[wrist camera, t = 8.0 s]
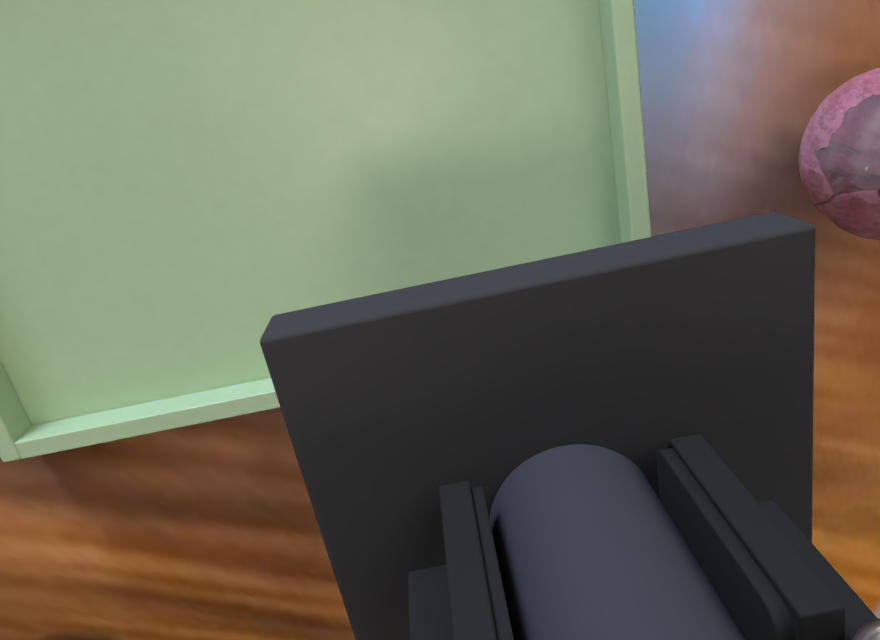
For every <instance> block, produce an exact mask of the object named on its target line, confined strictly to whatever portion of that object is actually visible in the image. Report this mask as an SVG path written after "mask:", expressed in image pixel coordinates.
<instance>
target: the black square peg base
mask: <svg viewBox="0 0 880 640" xmlns="http://www.w3.org/2000/svg"><path fill="white" fill-rule="evenodd" d="M814 272H815V229H814V226H813V225H811V224H809V223H806V222H803V221H800V220H798V219H795V218H792V217H789V216H787V215H784V214H781V213H779V212H769V213H764V214H759V215H755V216H750V217H745V218H740V219H735V220H730V221H726V222H721V223H716V224H711V225H706V226H701V227H697V228H692V229H687V230H682V231H677V232H672V233H668V234H663V235H658V236H653V237H648V238H644V239H639V240H634V241H629V242H624V243H619V244H615V245H610V246H605V247H600V248H595V249H590V250H586V251H581V252H576V253H571V254H566V255H561V256H557V257H552V258H547V259H542V260H537V261H532V262H528V263H523V264H518V265H513V266H508V267H503V268H499V269H494V270H489V271H484V272H479V273H475V274H470V275H465V276H460V277H455V278H450V279H446V280H441V281H436V282H431V283H426V284H421V285H417V286H412V287H407V288H402V289H397V290H392V291H388V292H383V293H378V294H373V295H368V296H363V297H359V298H354V299H349V300H344V301H339V302H334V303H330V304H325V305H320V306H315V307H310V308H306V309H301V310H296V311H291V312H286V313H281V314H277V315H274V316H272V317H271V319H270V321H269V323H268V325H267V327H266V329H265V331H264V333H263V335H262V337H261V339H260V345H261V348H262V351H263V355H264V358H265V361H266V364H267V367H268V370H269V373H270V376H271V379H272V382H273V385H274V389H275V392H276V395H277V398H278V401H279V404H280V407H281V410H282V413H283V416H284V420H285V423H286V426H287V429H288V432H289V435H290V438H291V441H292V444H293V447H294V450H295V454H296V457H297V460H298V463H299V466H300V469H301V472H302V475H303V478H304V481H305V484H306V488H307V491H308V494H309V497H310V500H311V503H312V506H313V509H314V512H315V515H316V519H317V522H318V525H319V528H320V531H321V534H322V537H323V540H324V543H325V546H326V549H327V553H328V556H329V559H330V562H331V565H332V568H333V571H334V574H335V577H336V580H337V584H338V587H339V590H340V593H341V596H342V599H343V602H344V605H345V608H346V611H347V614H348V618H349V621H350V624H351V627H352V630H353V633H354V636H355V639H356V640H409V593H408V576H409V572H411V571H416V570H421V569H426V568H431V567H436V566H441V565H446V554H445V544H444V534H443V524H442V514H441V503H440V493H439V486H444V485H449V484H454V483H459V482H464V481H469V482H470V487H471V488H476V487H481V486H483V491H484V496H485V501H486V506H487V511H488V515H489V520H490V525H491V530H492V535H493V540H494V544H495V549H496V554H497V559H498V564H499V569H500V574H501V579H502V584H503V589H504V593H505V598H506V603H507V608H508V613H509V618H510V623H511V628H512V633H513V638H514V640H745V638H744V636H743V635H742V633H741V631H740V630H739V628H738V627H737V625H736V623H735V622H734V620H733V618H732V617H731V615H730V613H729V612H728V610H727V609H726V607H725V605H724V604H723V602H722V600H721V599H720V597H719V595H718V594H717V592H716V591H715V589H714V587H713V586H712V584H711V582H710V581H709V579H708V578H707V576H706V574H705V573H704V571H703V569H702V568H701V566H700V564H699V563H698V561H697V560H696V558H695V556H694V555H693V553H692V551H691V550H690V548H689V547H688V545H687V543H686V542H685V540H684V538H683V537H682V535H681V533H680V532H679V530H678V529H677V527H676V525H675V524H674V522H673V520H672V519H671V517H670V516H669V514H668V512H667V511H666V509H665V507H664V506H663V504H662V502H661V501H660V493H659V481H658V470H657V459H656V454H657V451H659V450H664V449H665V444H666V441H667V440H671V439H676V438H681V437H686V436H691V435H696V434H700V435H701V436H702V437H703V438H704V439H705V440H706V441H707V442H708V444H709V445H710V446H711V447H712V448H713V450H714V451H715V452H716V453H717V454H718V456H719V457H720V458H721V459H722V460H723V462H724V463H725V464H726V465H727V466H728V468H729V469H730V470H731V471H732V472H733V474H734V475H735V476H736V477H737V478H738V480H739V481H740V482H741V483H742V484H743V486H744V487H745V488H746V489H747V490H748V492H749V493H750V494H751V495H752V496H753V498H754V499H755V500H756V501H757V502H760V501H765V500H770V501H773V502H775V503H776V504H777V505H778V506H779V507H780V508H781V509H782V510H783V511H784V512H785V513H786V515H787V516H788V517H789V518H790V519H791V520H792V521H793V523H794V524H795V525H796V526H797V527H798V528H799V529H800V531H801V532H802V533H803V534H804V535H805V536H806V537H807V539H808V540H809V541H810V542H811V543H812V467H813V370H814Z"/></svg>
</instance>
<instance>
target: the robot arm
mask: <svg viewBox="0 0 880 640" xmlns="http://www.w3.org/2000/svg"><path fill="white" fill-rule="evenodd" d="M656 459H657V470H658V481H659V493H660V501H661V502H662V504H663V506H664V507H665V509H666V511H667V512H668V514H669V516H670V517H671V519H672V520H673V522H674V524H675V525H676V527H677V529H678V530H679V532H680V533H681V535H682V537H683V538H684V540H685V542H686V543H687V545H688V547H689V548H690V550H691V551H692V553H693V555H694V556H695V558H696V560H697V561H698V563H699V564H700V566H701V568H702V569H703V571H704V573H705V574H706V576H707V578H708V579H709V581H710V582H711V584H712V586H713V587H714V589H715V591H716V592H717V594H718V595H719V597H720V599H721V600H722V602H723V604H724V605H725V607H726V609H727V610H728V612H729V613H730V615H731V617H732V618H733V620H734V622H735V623H736V625H737V627H738V628H739V630H740V631H741V633H742V635H743V636H744V638H745V640H880V619H878V618H877V617H876V616H875V615H874V614H873V613H872V612H871V610H870V609H869V608H868V607H867V606H866V605H865V604H864V602H863V601H862V600H861V599H860V598H859V597H858V596H857V594H856V593H855V592H854V591H853V590H852V589H851V588H850V586H849V585H848V584H847V583H846V582H845V581H844V580H843V578H842V577H841V576H840V575H839V574H838V573H837V572H836V570H835V569H834V568H833V567H832V566H831V565H830V564H829V562H828V561H827V560H826V559H825V558H824V557H823V556H822V555H821V553H820V552H819V551H818V550H817V549H816V548H815V547H814V545H813V544H812V543H811V542H810V541H809V540H808V539H807V537H806V536H805V535H804V534H803V533H802V532H801V531H800V529H799V528H798V527H797V526H796V525H795V524H794V523H793V521H792V520H791V519H790V518H789V517H788V516H787V515H786V513H785V512H784V511H783V510H782V509H781V508H780V507H779V506H778V505H777V504H776V503H775V502H773V501H770V500H765V501H760V502H757V501H756V500H755V499H754V498H753V496H752V495H751V494H750V493H749V492H748V490H747V489H746V488H745V487H744V486H743V484H742V483H741V482H740V481H739V480H738V478H737V477H736V476H735V475H734V474H733V472H732V471H731V470H730V469H729V468H728V466H727V465H726V464H725V463H724V462H723V460H722V459H721V458H720V457H719V456H718V454H717V453H716V452H715V451H714V450H713V448H712V447H711V446H710V445H709V444H708V442H707V441H706V440H705V439H704V438H703V437H702V436H701V435H700V434H696V435H691V436H686V437H681V438H676V439H671V440H667V441H666V444H665V449H664V450H659V451H657V454H656ZM439 493H440V503H441V514H442V524H443V534H444V544H445V554H446V565H441V566H436V567H431V568H426V569H421V570H416V571H411V572H409V576H408V593H409V640H514V638H513V633H512V628H511V623H510V618H509V613H508V608H507V603H506V598H505V593H504V589H503V584H502V579H501V574H500V569H499V564H498V559H497V554H496V549H495V544H494V540H493V535H492V530H491V525H490V520H489V515H488V511H487V506H486V501H485V496H484V491H483V486H481V487H476V488H471V487H470V482H469V481H464V482H459V483H454V484H449V485H444V486H439Z"/></svg>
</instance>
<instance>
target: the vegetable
mask: <svg viewBox="0 0 880 640" xmlns="http://www.w3.org/2000/svg"><path fill="white" fill-rule="evenodd" d="M799 170H800V177H801V181H802V184H803V186H804V189H805V190H806V192H807V194H808V196H809V198H810V199H811V201H812V203H813V205H814V206H815V207H816V208H817V209H818V210H819V211H820V212H821V213H822V214H823V215H825V216H826V217H827V218H828V219H829V220H831V221H832V222H833V223H834V224H836V225H837V226H838V227H839V228H841V229H843V230H845V231H847V232H849V233H852V234H854V235H857V236H859V237H862V238H866V239H874V240H880V68H877V69H873V70H871V71H868V72H866V73H863V74H861V75H858V76H856V77H854V78H852V79H850V80H849V81H847V82H845V83H844V84H842V85H841V86H840V87H838V88H837V89H836V90H835V91H833V92H832V93H831V94H830V95H828V96H827V97H826V98H825V99H824V100H823V101H822V103H821V104H820V105H819V107H818V109H817V110H816V111H815V113H814V114H813V116H812V117H811V119H810V121H809V123H808V125H807V127H806V130H805V132H804V135H803V138H802V141H801V145H800V152H799Z"/></svg>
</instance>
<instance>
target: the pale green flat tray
mask: <svg viewBox="0 0 880 640" xmlns="http://www.w3.org/2000/svg"><path fill="white" fill-rule="evenodd" d="M648 237H651V225H650V212H649V199H648V185H647V172H646V159H645V146H644V133H643V120H642V107H641V94H640V81H639V68H638V55H637V42H636V29H635V16H634V3H633V0H0V457H1V459H2V461H3V462H8V461H13V460H18V459H21V458H22V459H24V458H29V457H34V456H39V455H44V454H49V453H54V452H59V451H64V450H69V449H74V448H79V447H84V446H89V445H94V444H99V443H104V442H109V441H114V440H119V439H124V438H129V437H134V436H139V435H144V434H149V433H154V432H159V431H164V430H169V429H174V428H179V427H184V426H189V425H194V424H199V423H204V422H209V421H214V420H219V419H224V418H229V417H234V416H239V415H244V414H249V413H254V412H259V411H264V410H269V409H274V408H279V407H280V404H279V401H278V398H277V395H276V392H275V389H274V385H273V382H272V379H271V376H270V373H269V370H268V367H267V364H266V361H265V358H264V355H263V351H262V348H261V345H260V339H261V337H262V335H263V333H264V331H265V329H266V327H267V325H268V323H269V321H270V319H271V317H272V316H274V315H277V314H281V313H286V312H291V311H296V310H301V309H306V308H310V307H315V306H320V305H325V304H330V303H334V302H339V301H344V300H349V299H354V298H359V297H363V296H368V295H373V294H378V293H383V292H388V291H392V290H397V289H402V288H407V287H412V286H417V285H421V284H426V283H431V282H436V281H441V280H446V279H450V278H455V277H460V276H465V275H470V274H475V273H479V272H484V271H489V270H494V269H499V268H503V267H508V266H513V265H518V264H523V263H528V262H532V261H537V260H542V259H547V258H552V257H557V256H561V255H566V254H571V253H576V252H581V251H586V250H590V249H595V248H600V247H605V246H610V245H615V244H619V243H624V242H629V241H634V240H639V239H644V238H648Z"/></svg>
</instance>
